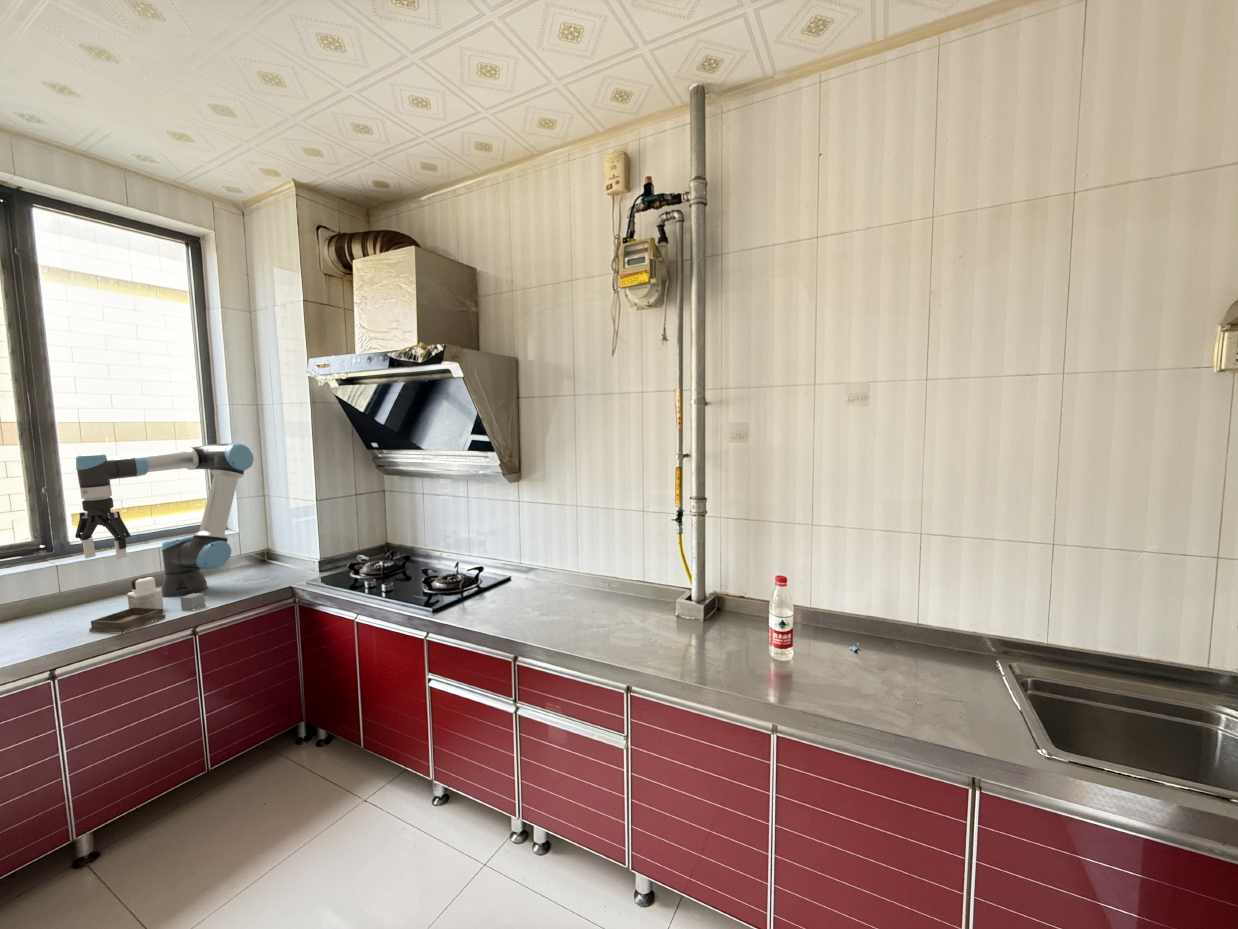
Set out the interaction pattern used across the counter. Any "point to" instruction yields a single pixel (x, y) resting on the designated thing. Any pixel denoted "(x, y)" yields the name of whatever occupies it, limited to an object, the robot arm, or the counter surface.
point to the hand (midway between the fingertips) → (106, 557)
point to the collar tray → (126, 619)
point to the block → (192, 601)
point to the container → (145, 594)
